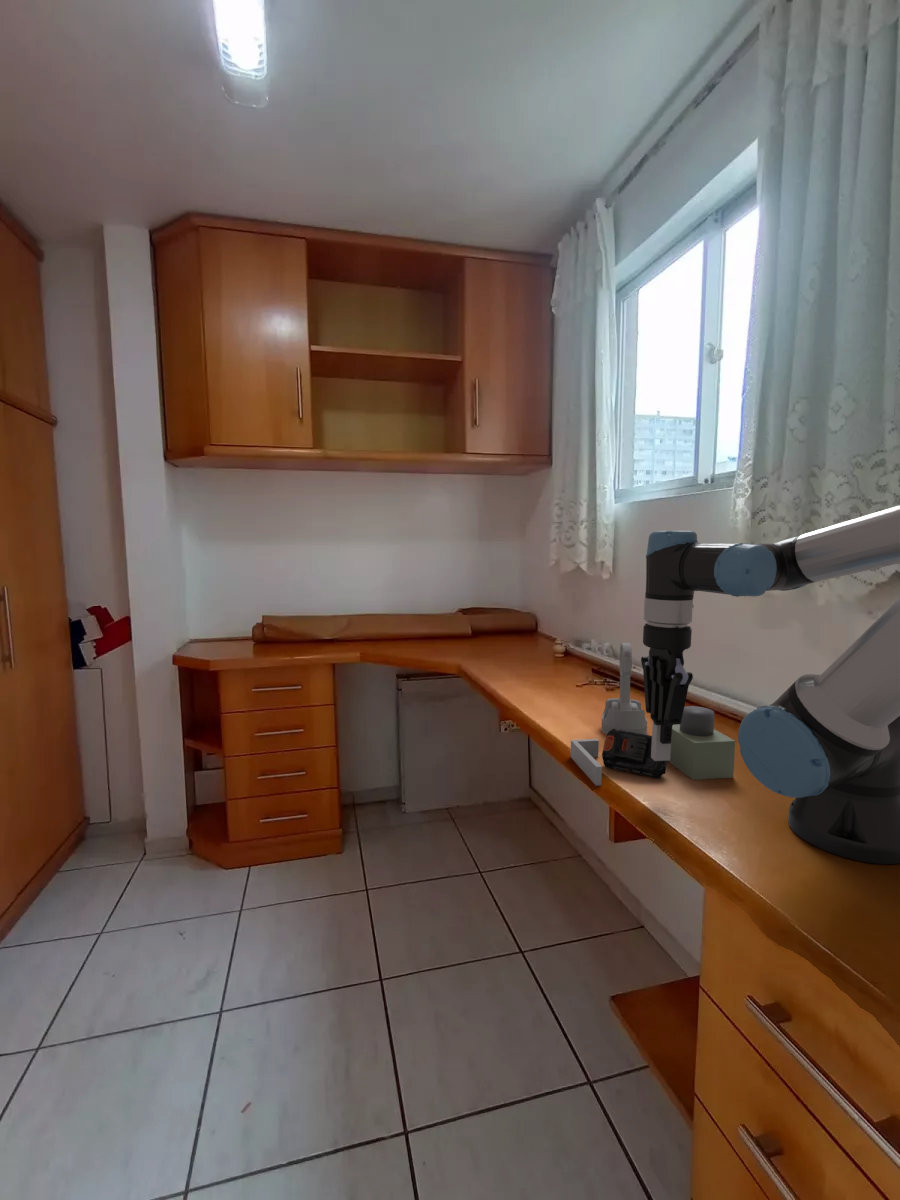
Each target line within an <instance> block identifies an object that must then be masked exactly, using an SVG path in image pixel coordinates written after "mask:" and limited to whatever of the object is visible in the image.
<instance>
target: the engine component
mask: <svg viewBox="0 0 900 1200" xmlns="http://www.w3.org/2000/svg"><path fill="white" fill-rule="evenodd" d="M632 653H633V651H632V646H631V642H621V643H620V647H619V659H618V660H619V698H618V697H611V698H607V699H606V700H605V705H604V710H603V712H602V715H601V732H602V733H603V734H604V735H607V733H608V732H609V731H611V730H612V729H615V730H622V731H626V732H634V733H637V734H644V735H648V718H646V716H645V715H646V713H645V712H646V710H645V709H642V702H641V701H639V700H636V699H632V698H630V697H631V691H630V690H631V677H632V667H633V654H632Z"/></svg>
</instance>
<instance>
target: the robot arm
mask: <svg viewBox="0 0 900 1200" xmlns="http://www.w3.org/2000/svg"><path fill="white" fill-rule="evenodd" d="M645 559H646V560H645V561H646V563H645V564H646V565H645V569H646V571H645V593H644V595H645V596H644V606H643V609H644V610H643V620H644V621H645V622H646V623H644V625H643V633H642V644H643V645H644V646H645V647H648V648H649V651H648V655H647V656H641V658H640V663H641V668H642V673H643V688H644V689H643V690H644V702H645V703H644V705H645V712H646V713H647V714H650V719H651V720H652V726H651V727H652V728H651V732H652V733H651V736H652V746H651V758H652V759H653V760H654V761H666V760H670V753H671V738H672V736H671V735H672V726H673V725H677V724H681V720H682V716H683V711H684V707H685V706H686V701H687V696H688V691H689V686H690V685H691V682H692V680H693V678H694V675H693V672H691V671H690V672H688V671H686V670H685V668H684V665H685V660H684V651H685V650H688V649H690V648H691V646H692V631H693V629H692V627H691V626H690V625H689V624H691V623H692V622H693V609H694V606H695V605H694V604H693V603H694V597H695V596H694V595H695V592H703V593H705V592H706V593H713V594H722V595H729V596H732V597H736V598H738V597H754V598H755V597H760V596H762V595H765V593H766V592H769V591H770V592H771V591H773V592H774V591H780V592H781V591H782V592H783V591H791V590H796V589H799V588H804V587H805V586H807V585H811V584H813V583H817V582H821V581H826V580H829V579H830V580H832V579H836V578H840V577H844V576H849V575H852V574H853V575H854V574H858V573H862V572H867V571H872V570H876V569H881V568H884V567H889V566H890V567H891V566H894V565H898V564H900V505H895V506H893V507H889V508H885V509H883V510H880V511H875V512H873V513H869V514H866V515H863V516H860V517H857V518H852V519H850V520H846V521H842V522H839V523H836V524H832V525H830V526H827V527H823V528H820V529H816V530H813V531H810V532H805V533H804V534H801V535H798V536H794V537H790V538H787V539H784V540H781V541H777V542H772V543H767V542H766V543H749V542H748V543H747V542H746V543H742V542H741V543H702V542H701V543H700V542H699V541H698V534H697V533H696V532H695V531H694V530H654V531H653V532H651V533H650V534H649V536H648V542H647V550H646V554H645ZM737 743H738V744H739V748H740V749H739V752H740V753H739V754H740V755H741V758H742V760H743V762H744V764H745V766H746V767H747V769H748V770H749V772H750V773H751V774H752V776H753V777H754V778H755V779H756V780H757V781H758V782H759V783H760V784H761V785H763V786H764V787H765V788H767V789H768V790H770V791H771V792H773V793H775V794H778V795H781V796H784V797H787V798H791V799H792V798H793V799H792V801H791V803H790V805H789V807H788V817H787V819H788V820H787V823H788V826H789V827H790V829H791V830H792V831H793V833H795V835H796V836H798V837H799V838H801V839H803V841H805V842H807V843H808V844H809V845H810V844H811V845H812V846H815V847H817V848H818V849H821V850H823V851H826V852H828V853H831V854H833V855H837V856H840V857H843V858H847V859H850V860H855V861H857V862H858V861H859V862H865V863H870V864H879V865H893V864H894V865H896V864H900V597H899V598H898V599H897V600H896V601H895V602H894V603H893V604H892V605H891V606H889V608H888V609H886V611H884V613H883V614H881V616H880V617H878V618H877V620H876V621H874V623H873V624H871V625H870V626H869V627H868V628H867V629H866V630H865V631H864V632H863V633H862V634H861V635H860V636H859V637H858V638H857V639H856V640H855V641H854V642H853V643H852V644H851V645H850V646H849V647H848V648H847V649H846V650H845V651H844V652H843V653H842V654H841V655H840V656H839V657H838V658H837V659H835V660H834V661H833V662H832V663H831V664H830V665H829V666H828V668H827V669H825V670H824V671H823V672H822V673H821V674H816V673H815V674H813V673H812V674H811V673H807V674H803V675H801V676H800V677H798V678H797V679H796V680H794V682H793V683H792V684H791V685H790V686H789V687H788V688H787V689H786V690H785V691H784V692H783V693H782V694H781V695H780V696H779V697H778V698H777V699H776V700H775V701H774V702H773V703H771V704H769V705H762V706H759V707H757V708H756V709H753V710H752V711H751V712H749V713H747V715H745V716H744V718H743V719H742V721H741V723H740V724H739V728H738V732H737Z"/></svg>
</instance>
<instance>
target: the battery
mask: <svg viewBox="0 0 900 1200" xmlns="http://www.w3.org/2000/svg"><path fill="white" fill-rule="evenodd" d="M651 746H652V735H649V734H647V735H644V734H637V733H634V732H626V731H622V730H615V729H612V730H611V731H609V732H608V733H607V734H605V739H604V744H603V749H602V752H601V757H602V761H603V765H604V766H605V767H606V768H607V769H611V770H616V771H620V772H626V773H630V774H636V775H638V776H645V777H649V778H655V779H660V778H661V777H662V776H663V775H666V773H667V765H668V761H667V760H666V761H654V760H653V759H652V758H651Z"/></svg>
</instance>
